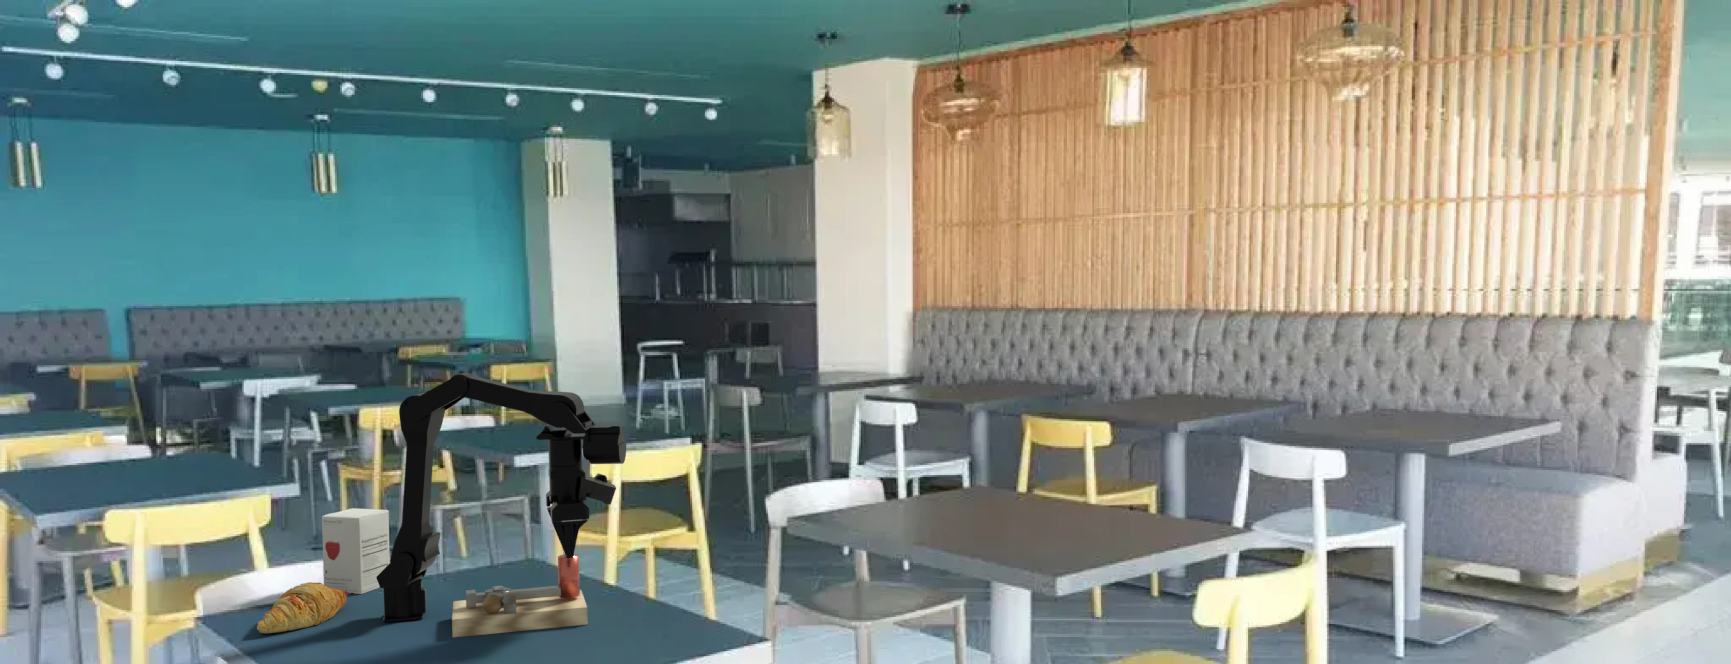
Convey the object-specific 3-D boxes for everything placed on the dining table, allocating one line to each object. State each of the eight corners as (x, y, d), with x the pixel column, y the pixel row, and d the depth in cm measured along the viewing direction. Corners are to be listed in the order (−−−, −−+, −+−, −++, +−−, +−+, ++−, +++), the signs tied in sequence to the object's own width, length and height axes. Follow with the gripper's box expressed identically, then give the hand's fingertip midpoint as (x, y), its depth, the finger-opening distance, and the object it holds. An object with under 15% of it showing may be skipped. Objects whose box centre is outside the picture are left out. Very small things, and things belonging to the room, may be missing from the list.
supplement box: (321, 592, 237) (319, 515, 236) (354, 581, 246) (351, 507, 245) (361, 594, 234) (358, 517, 234) (392, 583, 243) (389, 508, 242)
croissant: (275, 659, 205) (292, 618, 204) (229, 628, 207) (245, 588, 206) (357, 622, 226) (373, 585, 224) (315, 595, 228) (330, 558, 226)
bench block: (452, 637, 204) (451, 601, 203) (454, 617, 216) (453, 584, 216) (587, 624, 210) (586, 589, 210) (581, 606, 223) (580, 573, 222)
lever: (466, 608, 209) (464, 566, 208) (466, 602, 213) (465, 561, 213) (580, 598, 214) (579, 557, 214) (578, 592, 219) (577, 552, 218)
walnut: (482, 616, 205) (482, 597, 205) (482, 611, 208) (482, 593, 208) (502, 614, 206) (502, 595, 206) (502, 609, 209) (501, 591, 209)
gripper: (618, 468, 209) (620, 559, 209) (606, 455, 227) (608, 539, 227) (551, 472, 206) (553, 564, 206) (544, 458, 223) (546, 543, 224)
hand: (567, 552), depth 216 cm, fingers open, 9 cm apart
